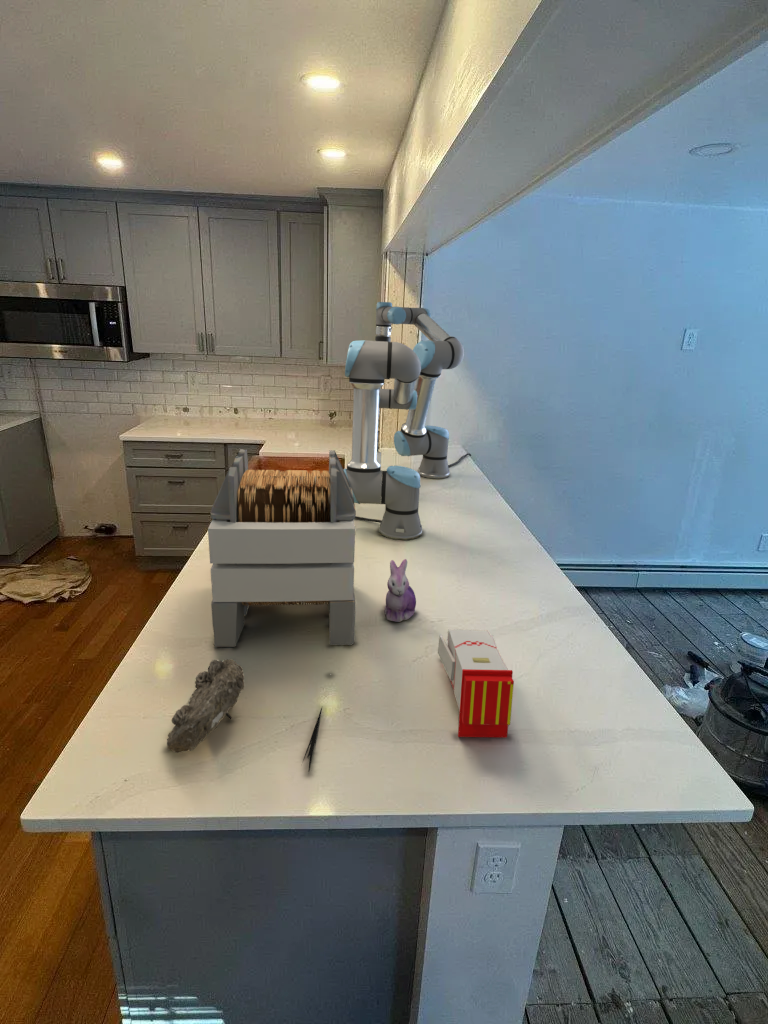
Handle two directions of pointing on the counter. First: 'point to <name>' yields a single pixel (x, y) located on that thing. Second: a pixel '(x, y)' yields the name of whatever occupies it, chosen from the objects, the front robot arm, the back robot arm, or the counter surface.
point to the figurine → (399, 594)
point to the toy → (478, 682)
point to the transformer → (282, 546)
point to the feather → (313, 740)
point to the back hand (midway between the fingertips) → (381, 380)
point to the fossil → (206, 705)
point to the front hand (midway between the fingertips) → (368, 471)
